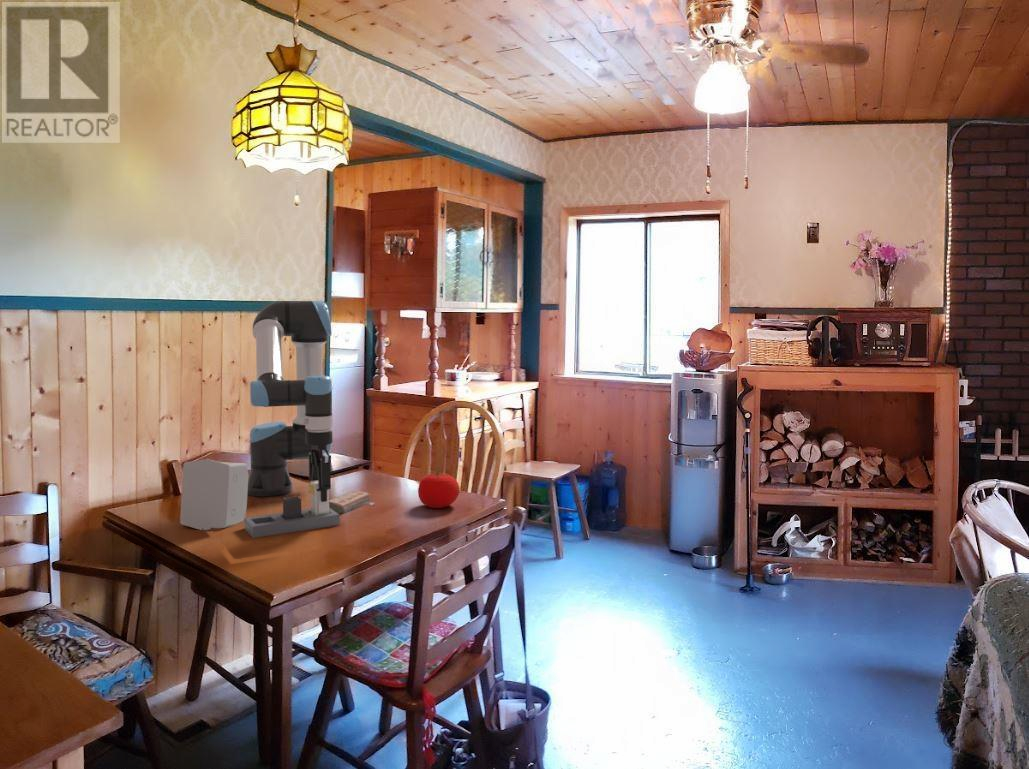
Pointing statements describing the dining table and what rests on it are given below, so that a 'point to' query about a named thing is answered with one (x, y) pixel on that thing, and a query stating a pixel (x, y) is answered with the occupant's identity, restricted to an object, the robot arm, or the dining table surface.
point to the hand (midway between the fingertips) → (320, 509)
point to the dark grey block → (291, 508)
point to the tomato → (438, 490)
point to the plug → (316, 498)
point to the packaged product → (349, 501)
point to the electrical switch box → (213, 494)
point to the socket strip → (288, 523)
